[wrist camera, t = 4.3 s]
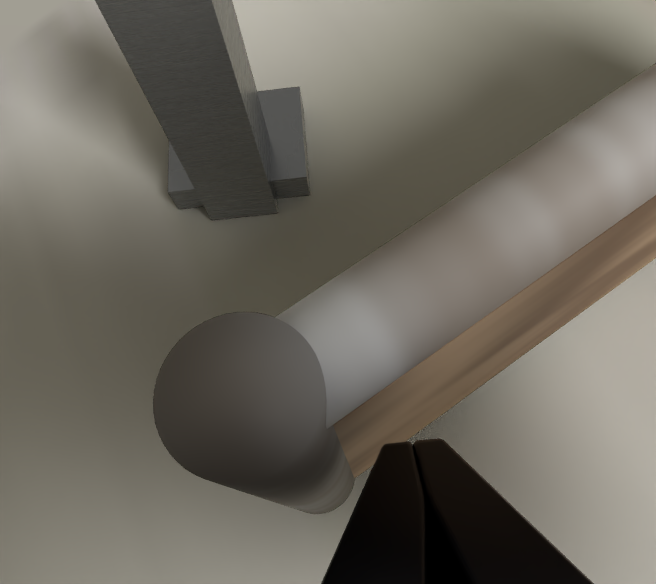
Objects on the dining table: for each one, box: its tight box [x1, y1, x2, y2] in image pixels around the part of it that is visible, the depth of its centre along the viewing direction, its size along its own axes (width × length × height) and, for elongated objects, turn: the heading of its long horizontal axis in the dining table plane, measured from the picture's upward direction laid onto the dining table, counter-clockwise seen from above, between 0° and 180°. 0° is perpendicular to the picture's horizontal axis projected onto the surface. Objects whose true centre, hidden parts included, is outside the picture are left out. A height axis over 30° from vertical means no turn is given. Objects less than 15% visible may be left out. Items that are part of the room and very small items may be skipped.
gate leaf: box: [153, 63, 656, 514], centre depth 11 cm, size 14×2×9 cm, turn 124°
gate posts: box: [95, 0, 310, 220], centre depth 13 cm, size 20×7×11 cm, turn 94°
